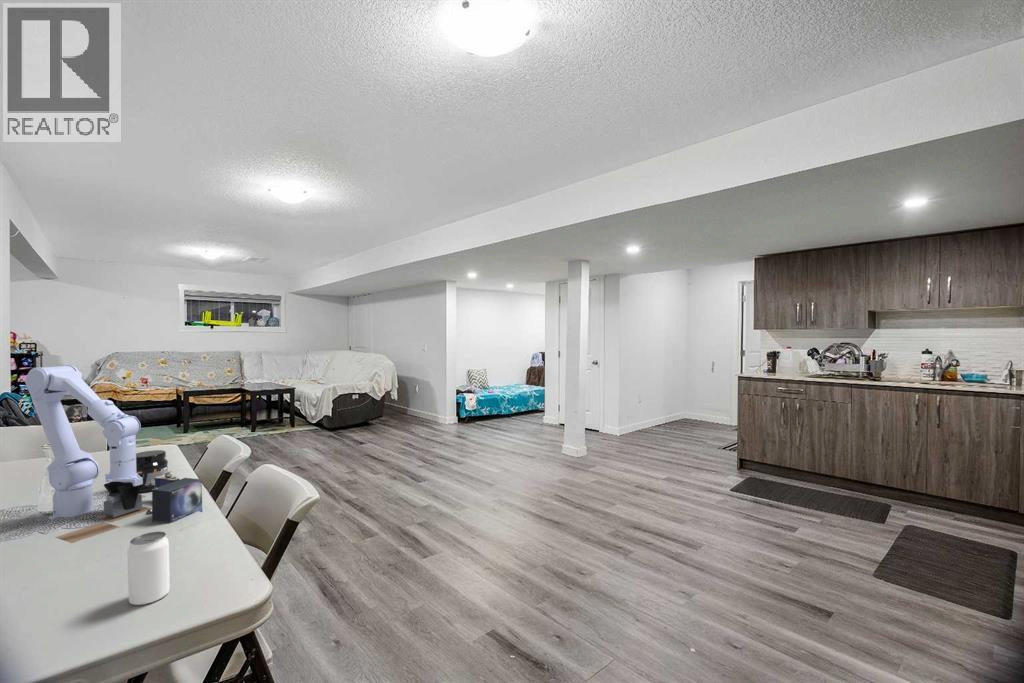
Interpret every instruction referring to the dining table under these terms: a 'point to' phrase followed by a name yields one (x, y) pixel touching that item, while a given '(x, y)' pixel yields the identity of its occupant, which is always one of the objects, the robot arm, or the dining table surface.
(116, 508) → the block
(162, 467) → the supplement container
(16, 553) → the dining table surface
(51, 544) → the dining table surface
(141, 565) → the can
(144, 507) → the stand
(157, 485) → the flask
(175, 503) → the small box
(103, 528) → the stand
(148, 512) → the loose bolt
